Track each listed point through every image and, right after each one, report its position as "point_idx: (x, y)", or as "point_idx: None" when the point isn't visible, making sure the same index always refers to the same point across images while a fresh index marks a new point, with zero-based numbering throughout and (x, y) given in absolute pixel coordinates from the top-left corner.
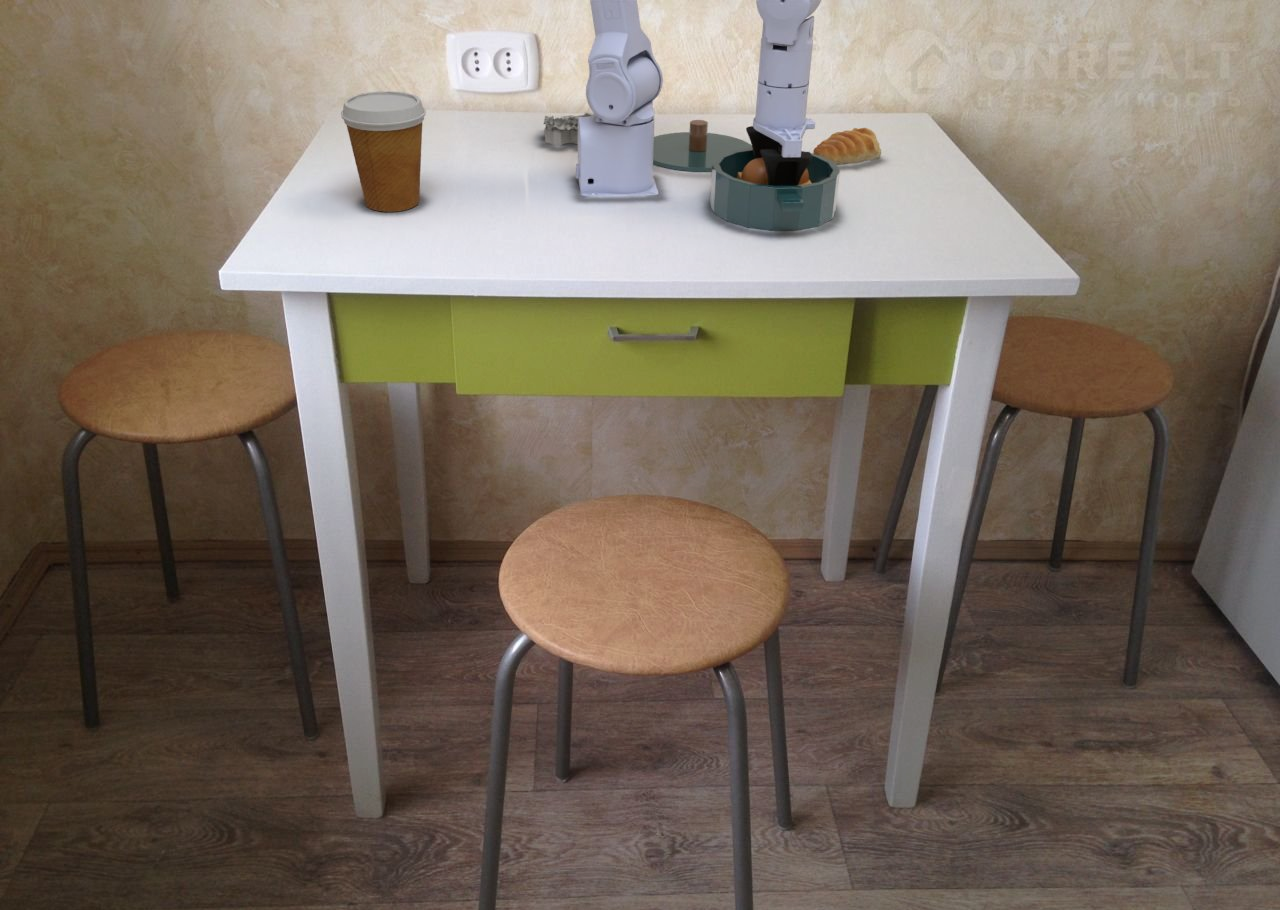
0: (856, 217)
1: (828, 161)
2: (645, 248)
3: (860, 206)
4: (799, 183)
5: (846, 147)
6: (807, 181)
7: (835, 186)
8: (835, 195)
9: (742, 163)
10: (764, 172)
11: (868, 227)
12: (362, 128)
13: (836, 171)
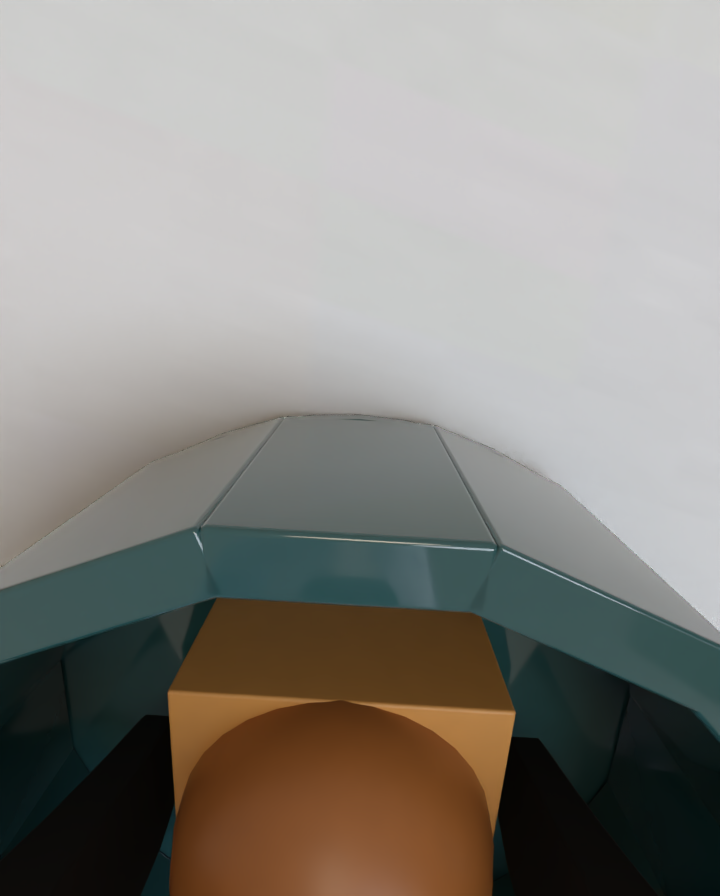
0: (477, 294)
1: (169, 582)
2: None
3: (287, 198)
4: (488, 806)
5: None
6: (435, 735)
7: (683, 600)
8: (572, 519)
9: None
10: None
11: (655, 273)
12: None
13: (544, 601)
